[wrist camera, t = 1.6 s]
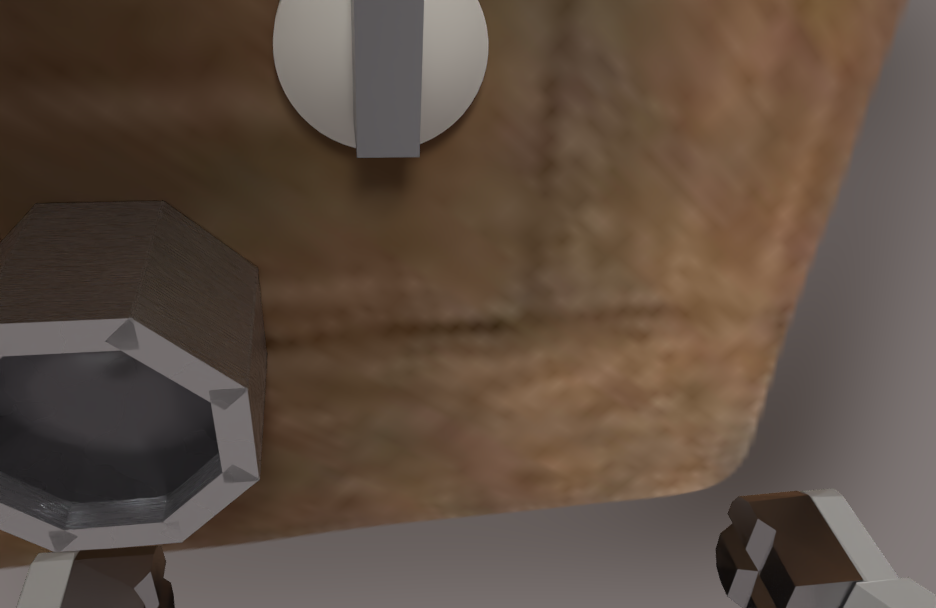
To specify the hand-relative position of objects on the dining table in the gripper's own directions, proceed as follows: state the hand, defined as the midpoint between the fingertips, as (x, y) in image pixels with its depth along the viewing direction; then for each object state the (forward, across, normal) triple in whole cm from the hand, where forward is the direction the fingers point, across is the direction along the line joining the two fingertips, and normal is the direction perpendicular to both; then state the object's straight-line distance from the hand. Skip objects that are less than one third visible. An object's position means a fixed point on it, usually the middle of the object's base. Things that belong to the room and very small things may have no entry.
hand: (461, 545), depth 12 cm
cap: (+20, 0, -1) cm, 21 cm away
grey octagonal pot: (+20, +10, +10) cm, 25 cm away
